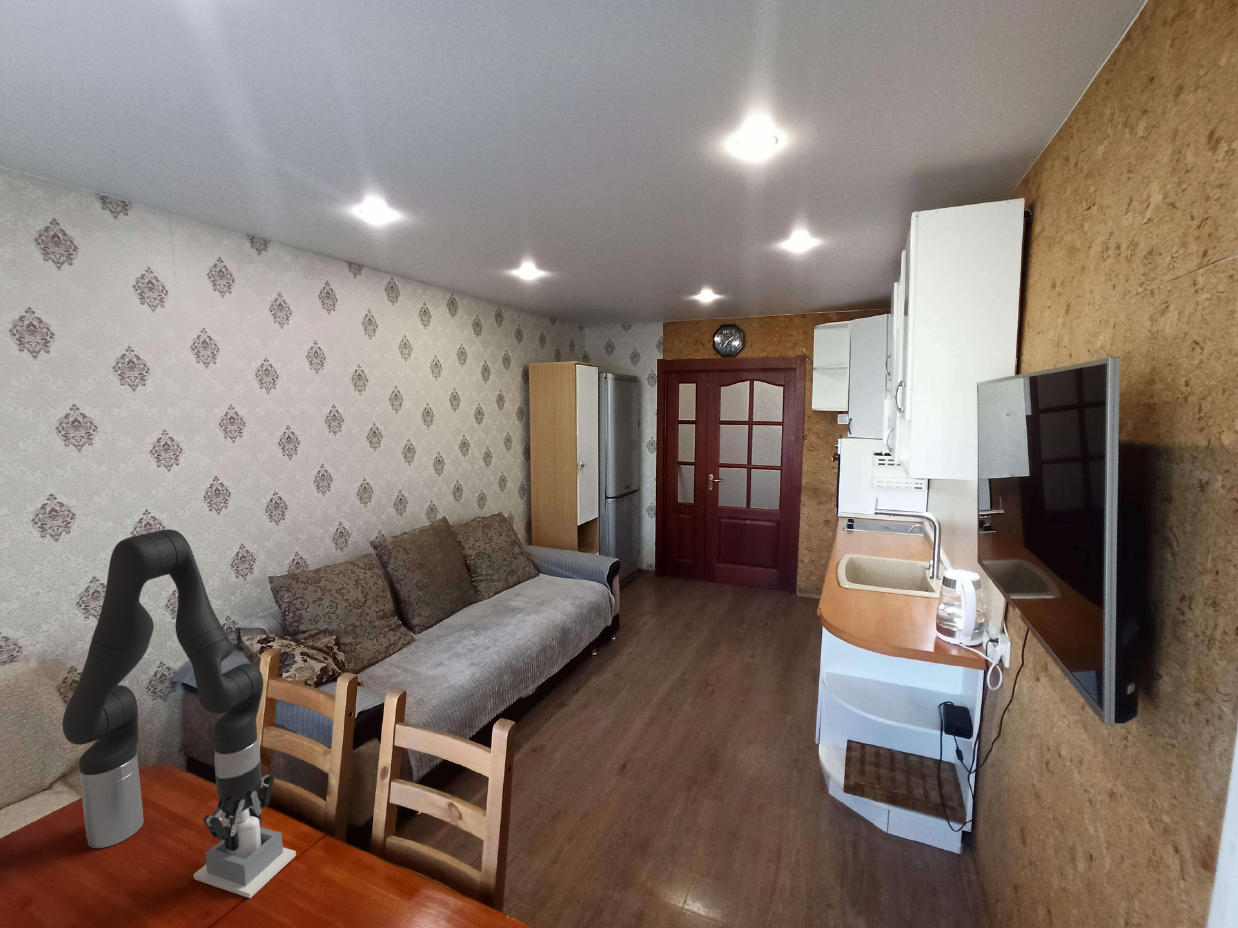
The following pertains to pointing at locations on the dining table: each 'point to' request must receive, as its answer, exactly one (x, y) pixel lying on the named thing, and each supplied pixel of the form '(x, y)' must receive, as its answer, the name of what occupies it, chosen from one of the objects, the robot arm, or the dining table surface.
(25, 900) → the dining table surface
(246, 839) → the eye dropper bottle
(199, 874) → the socket
